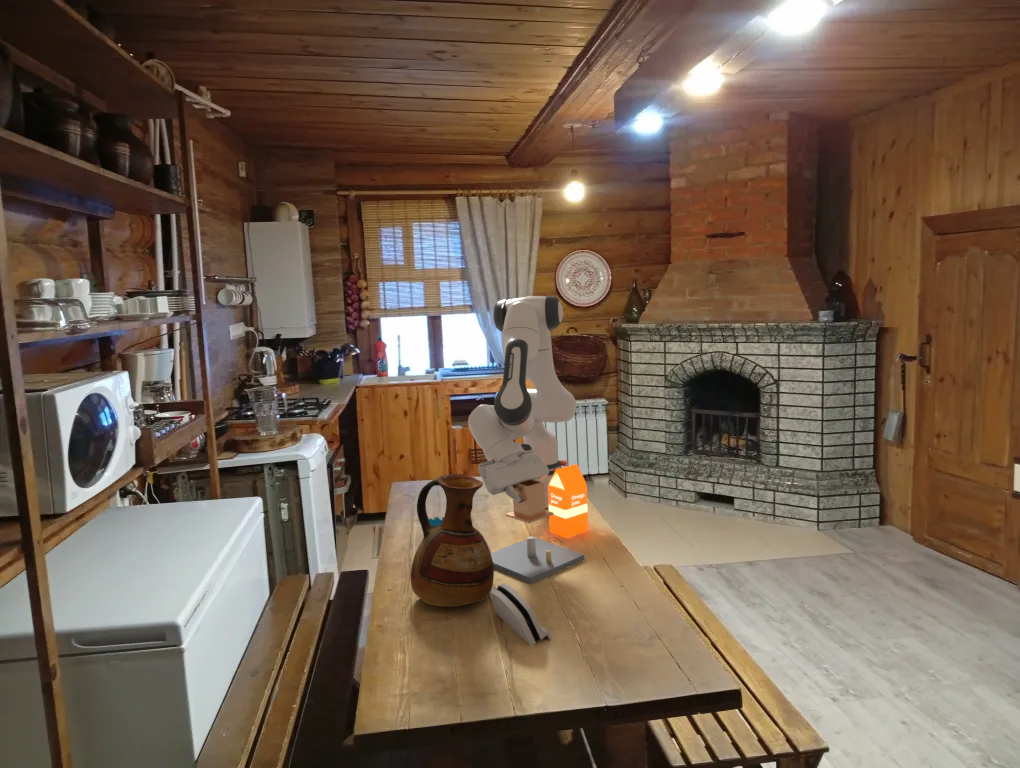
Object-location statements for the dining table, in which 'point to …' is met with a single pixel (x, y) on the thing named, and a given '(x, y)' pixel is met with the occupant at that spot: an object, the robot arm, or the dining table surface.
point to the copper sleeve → (530, 502)
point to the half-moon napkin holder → (517, 613)
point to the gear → (435, 521)
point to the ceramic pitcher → (452, 548)
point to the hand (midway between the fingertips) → (530, 498)
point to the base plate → (534, 559)
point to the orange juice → (568, 502)
